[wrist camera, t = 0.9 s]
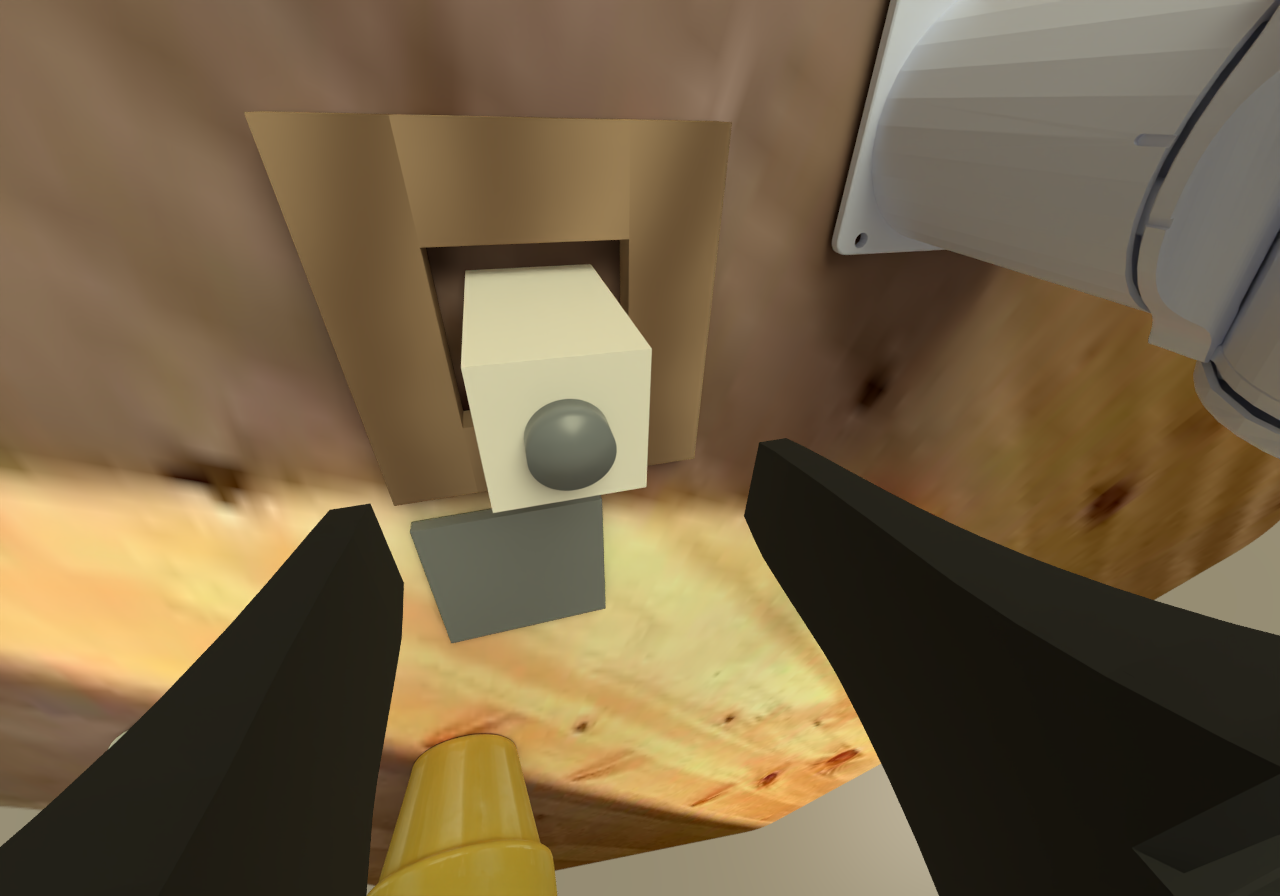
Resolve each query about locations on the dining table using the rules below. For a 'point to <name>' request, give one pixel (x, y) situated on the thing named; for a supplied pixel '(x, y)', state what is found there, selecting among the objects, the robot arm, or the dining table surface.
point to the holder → (490, 215)
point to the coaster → (514, 565)
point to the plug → (554, 385)
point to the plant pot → (467, 826)
